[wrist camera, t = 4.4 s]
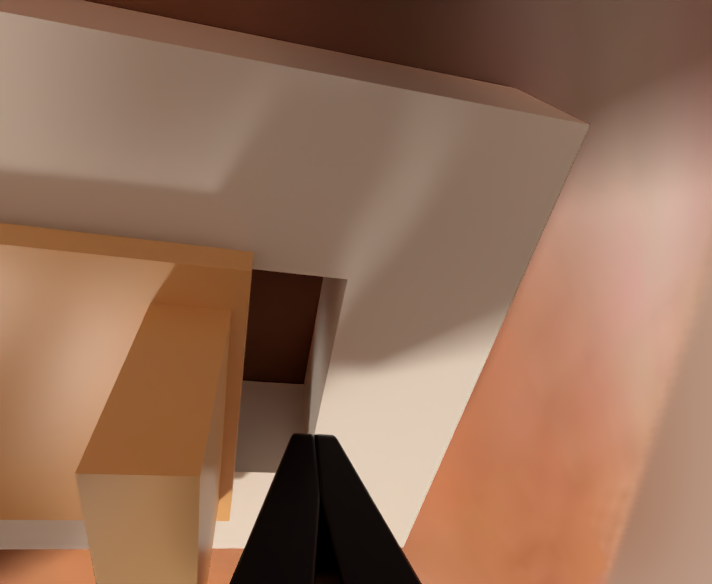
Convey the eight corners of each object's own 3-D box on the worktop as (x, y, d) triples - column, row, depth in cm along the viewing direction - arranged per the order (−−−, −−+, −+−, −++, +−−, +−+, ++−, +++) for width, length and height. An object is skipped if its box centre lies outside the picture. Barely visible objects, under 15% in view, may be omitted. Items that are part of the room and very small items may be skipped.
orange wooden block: (231, 496, 11) (209, 689, 8) (-92, 491, 10) (-264, 718, 7) (253, 252, 8) (228, 428, 5) (-241, 194, 6) (-720, 388, 3)
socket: (386, 459, 16) (403, 547, 14) (-264, 438, 13) (-401, 551, 10) (515, 88, 10) (590, 124, 7) (-710, -161, 6) (-1360, -251, 4)
